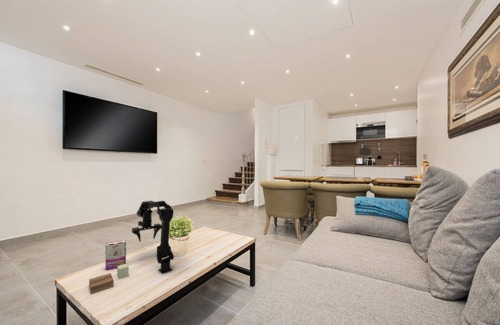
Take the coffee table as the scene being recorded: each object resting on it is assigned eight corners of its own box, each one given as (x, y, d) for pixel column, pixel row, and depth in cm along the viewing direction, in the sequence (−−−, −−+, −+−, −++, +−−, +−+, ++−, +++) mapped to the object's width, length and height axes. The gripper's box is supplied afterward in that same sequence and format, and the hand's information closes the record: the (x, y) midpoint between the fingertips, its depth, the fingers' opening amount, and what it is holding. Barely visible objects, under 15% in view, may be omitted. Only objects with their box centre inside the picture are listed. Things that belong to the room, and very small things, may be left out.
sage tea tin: (128, 276, 125) (128, 266, 125) (118, 279, 122) (118, 269, 122) (126, 273, 129) (126, 263, 129) (117, 276, 126) (117, 266, 126)
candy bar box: (126, 263, 142) (126, 239, 142) (125, 266, 137) (125, 241, 137) (106, 267, 136) (106, 242, 137) (105, 270, 132) (105, 244, 132)
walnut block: (113, 287, 115) (113, 280, 115) (90, 294, 108) (90, 287, 108) (110, 279, 122) (110, 273, 122) (89, 286, 115) (89, 279, 115)
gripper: (157, 214, 161) (157, 234, 160) (130, 218, 148) (129, 240, 148) (162, 217, 152) (161, 238, 152) (133, 221, 140) (133, 244, 140)
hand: (147, 240), depth 148 cm, fingers open, 9 cm apart
